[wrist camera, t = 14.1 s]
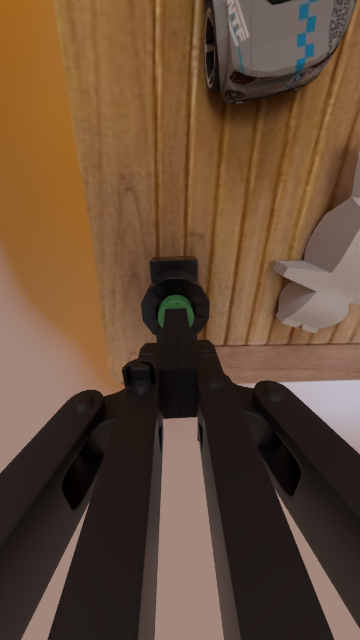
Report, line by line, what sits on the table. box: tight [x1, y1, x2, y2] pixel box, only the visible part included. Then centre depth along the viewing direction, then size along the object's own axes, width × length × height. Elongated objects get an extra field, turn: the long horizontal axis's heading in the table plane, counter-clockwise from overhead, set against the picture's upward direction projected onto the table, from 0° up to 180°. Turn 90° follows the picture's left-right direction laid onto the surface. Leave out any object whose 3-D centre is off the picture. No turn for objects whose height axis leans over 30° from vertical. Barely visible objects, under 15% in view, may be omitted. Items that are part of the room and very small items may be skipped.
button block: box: [141, 256, 210, 343], centre depth 18 cm, size 8×6×4 cm
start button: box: [158, 295, 194, 328], centre depth 16 cm, size 3×3×2 cm
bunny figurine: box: [273, 149, 360, 333], centre depth 16 cm, size 10×5×15 cm
